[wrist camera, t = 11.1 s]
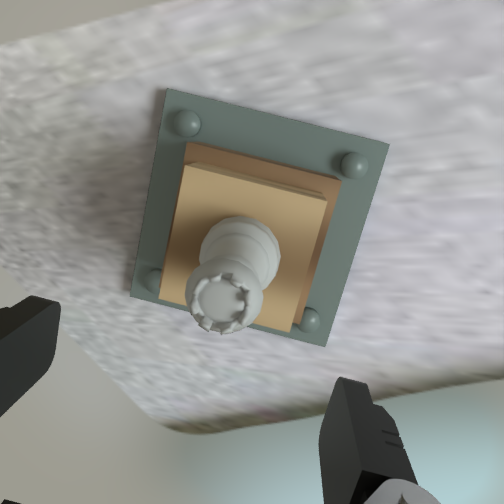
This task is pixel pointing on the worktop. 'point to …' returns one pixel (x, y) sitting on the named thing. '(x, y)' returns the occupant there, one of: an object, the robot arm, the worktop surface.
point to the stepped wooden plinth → (257, 207)
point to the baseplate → (274, 148)
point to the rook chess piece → (232, 274)
